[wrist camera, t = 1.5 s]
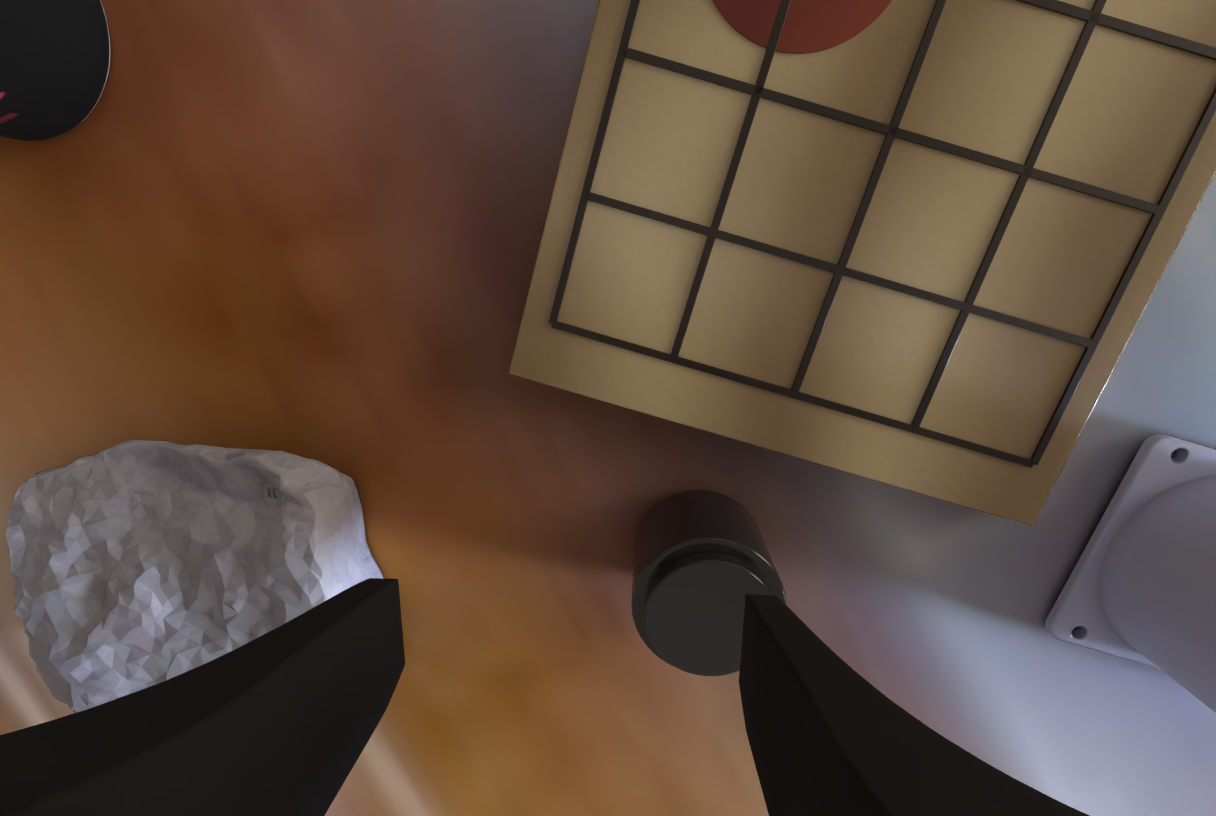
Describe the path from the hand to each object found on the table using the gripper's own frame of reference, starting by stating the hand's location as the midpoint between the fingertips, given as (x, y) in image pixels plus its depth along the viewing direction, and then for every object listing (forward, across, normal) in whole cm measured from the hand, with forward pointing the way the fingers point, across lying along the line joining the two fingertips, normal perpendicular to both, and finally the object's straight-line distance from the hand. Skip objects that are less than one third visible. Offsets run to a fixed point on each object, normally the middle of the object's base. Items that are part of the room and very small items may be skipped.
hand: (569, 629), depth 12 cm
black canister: (+10, -4, +3) cm, 11 cm away
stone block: (+10, +14, +4) cm, 18 cm away
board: (+10, -8, -11) cm, 17 cm away
